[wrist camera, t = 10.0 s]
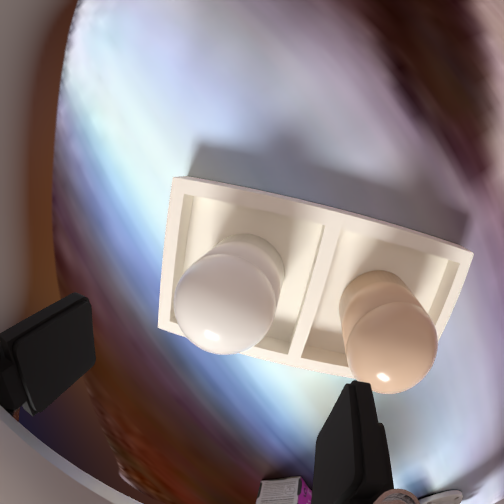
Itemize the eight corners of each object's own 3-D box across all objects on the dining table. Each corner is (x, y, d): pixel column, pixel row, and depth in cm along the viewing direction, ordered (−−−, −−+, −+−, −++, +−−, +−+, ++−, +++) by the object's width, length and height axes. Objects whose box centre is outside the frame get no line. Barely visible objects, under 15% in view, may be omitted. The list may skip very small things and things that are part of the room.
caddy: (459, 244, 15) (473, 253, 13) (406, 369, 18) (413, 386, 16) (187, 176, 17) (172, 177, 15) (170, 314, 20) (157, 327, 18)
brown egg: (394, 256, 16) (440, 308, 9) (417, 317, 16) (457, 384, 10) (326, 292, 17) (333, 361, 10) (355, 348, 18) (369, 425, 11)
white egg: (292, 244, 16) (282, 290, 10) (274, 314, 18) (254, 387, 11) (215, 225, 17) (159, 257, 10) (203, 295, 18) (153, 354, 12)
